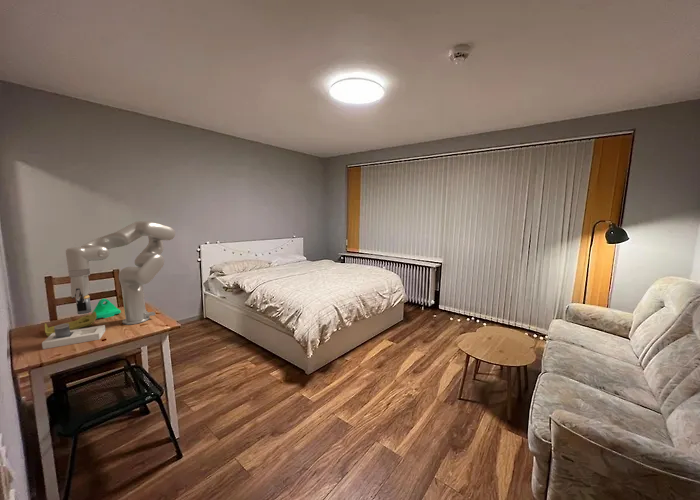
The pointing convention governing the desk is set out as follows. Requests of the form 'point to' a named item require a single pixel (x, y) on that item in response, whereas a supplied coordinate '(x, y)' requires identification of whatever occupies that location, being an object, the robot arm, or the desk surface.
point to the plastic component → (74, 323)
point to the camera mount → (105, 309)
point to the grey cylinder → (62, 331)
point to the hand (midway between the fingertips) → (84, 308)
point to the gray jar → (88, 305)
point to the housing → (75, 337)
